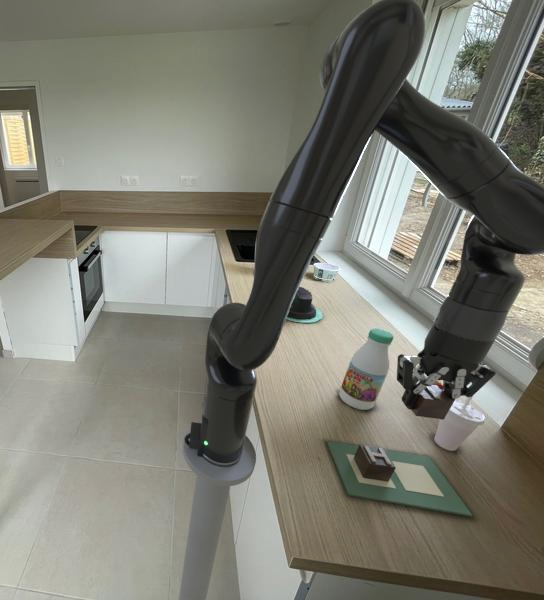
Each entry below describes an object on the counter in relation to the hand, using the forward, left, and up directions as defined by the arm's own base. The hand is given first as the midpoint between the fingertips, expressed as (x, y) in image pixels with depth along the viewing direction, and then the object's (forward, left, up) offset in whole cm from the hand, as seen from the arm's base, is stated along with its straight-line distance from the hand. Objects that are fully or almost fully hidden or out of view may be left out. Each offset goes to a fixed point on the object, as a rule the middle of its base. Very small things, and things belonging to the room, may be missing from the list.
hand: (422, 407), depth 59 cm
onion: (+17, +20, -15) cm, 31 cm away
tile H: (-6, -3, -15) cm, 16 cm away
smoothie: (+14, +8, -15) cm, 22 cm away
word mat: (-2, -3, -15) cm, 16 cm away
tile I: (0, 0, 0) cm, 0 cm away
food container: (+21, +113, -15) cm, 116 cm away
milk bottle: (0, +19, -15) cm, 25 cm away
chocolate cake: (-3, +70, -15) cm, 72 cm away
